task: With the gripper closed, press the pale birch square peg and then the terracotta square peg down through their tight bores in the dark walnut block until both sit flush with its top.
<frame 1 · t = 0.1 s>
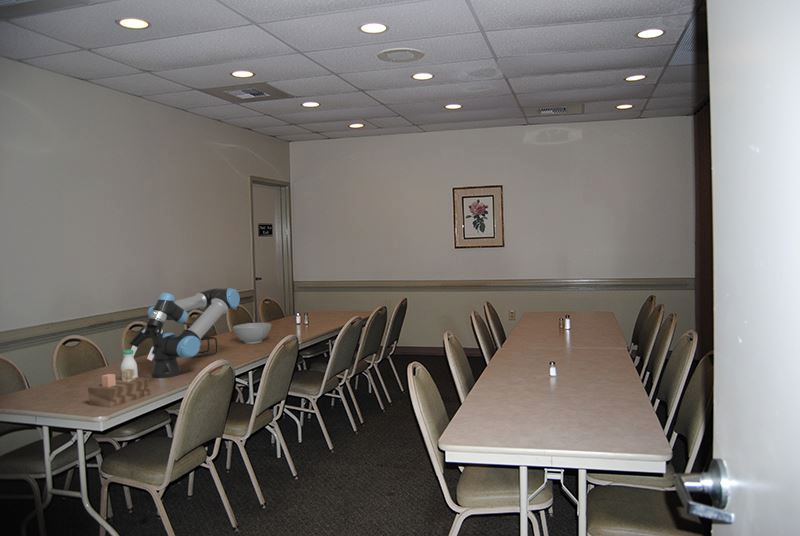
hand: (139, 359, 296), 15 cm above the table, tool tilted 35°, fingers open, 13 cm apart
milk bottle: (130, 389, 297), on the table
dark open wire frame: (201, 355, 383), on the table
walnut block: (120, 399, 279), on the table
birch peg: (128, 378, 283), point 9 cm above the table, slide at 0.0 cm
decorative bowl: (253, 342, 424), on the table
clay peg: (108, 383, 273), point 9 cm above the table, slide at 0.0 cm
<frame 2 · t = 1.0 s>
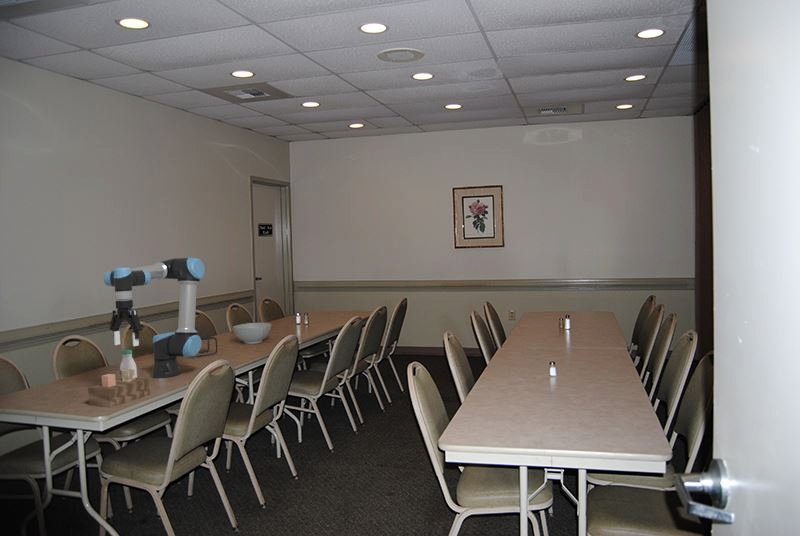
hand: (126, 345, 283), 25 cm above the table, tool pointing down, fingers open, 12 cm apart
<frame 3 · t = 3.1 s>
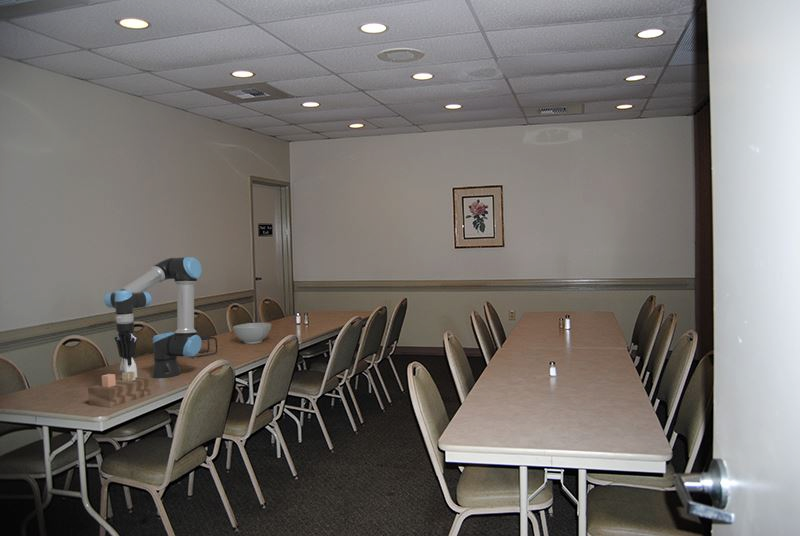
hand: (128, 371, 283), 12 cm above the table, tool pointing down, fingers closed
birch peg: (128, 380, 283), point 8 cm above the table, slide at 1.2 cm, touching gripper
everything else where it was.
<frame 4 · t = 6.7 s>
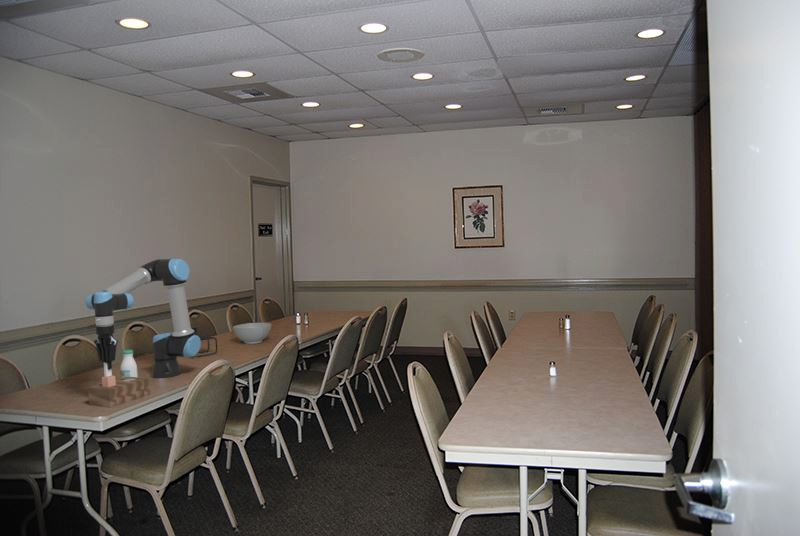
hand: (108, 376, 273), 13 cm above the table, tool pointing down, fingers closed
birch peg: (129, 388, 284), point 4 cm above the table, slide at 4.8 cm
clay peg: (109, 385, 273), point 8 cm above the table, slide at 0.7 cm, touching gripper
everything else where it was.
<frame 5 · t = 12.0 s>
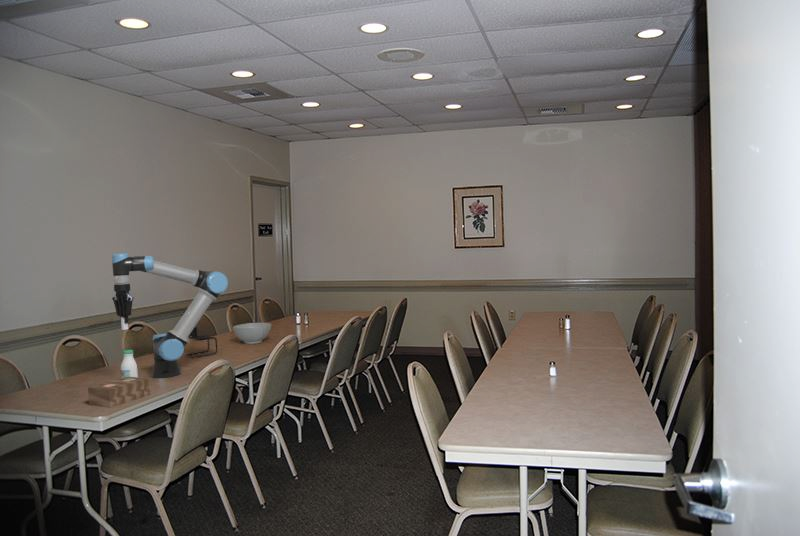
hand: (124, 329, 304), 29 cm above the table, tool pointing down, fingers closed
clay peg: (109, 394, 274), point 4 cm above the table, slide at 4.8 cm
everything else where it was.
at the end: birch peg slide at 4.8 cm; clay peg slide at 4.8 cm; milk bottle moved 0.2 cm from its start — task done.
